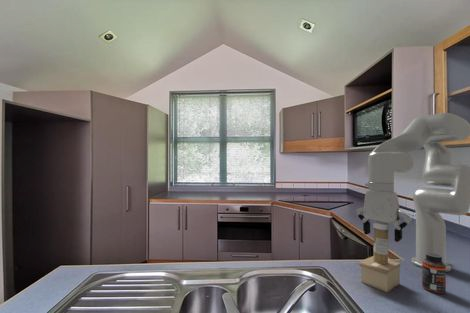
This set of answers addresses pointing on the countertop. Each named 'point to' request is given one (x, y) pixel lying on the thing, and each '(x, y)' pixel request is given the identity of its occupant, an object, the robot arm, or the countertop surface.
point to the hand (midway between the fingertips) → (381, 237)
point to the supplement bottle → (434, 273)
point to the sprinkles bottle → (381, 242)
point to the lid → (379, 265)
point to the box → (380, 278)
